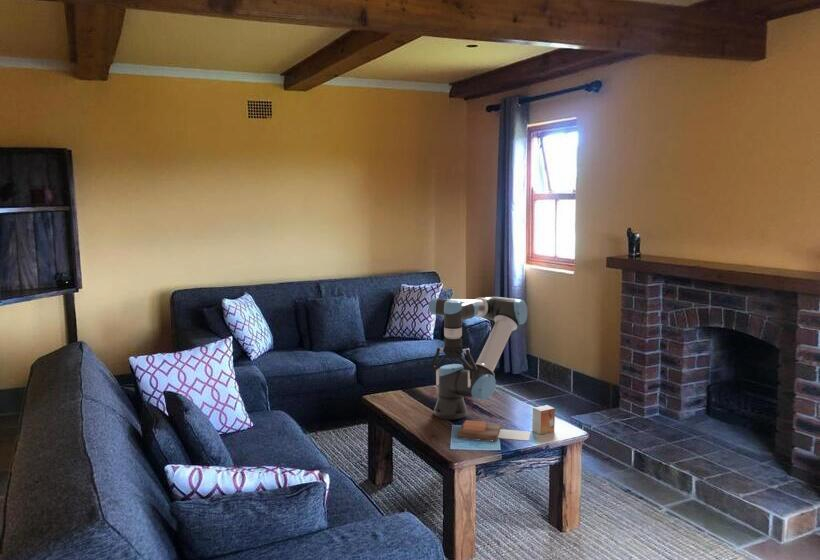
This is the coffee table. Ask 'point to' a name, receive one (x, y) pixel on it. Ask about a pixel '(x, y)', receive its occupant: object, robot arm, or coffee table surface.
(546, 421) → the small box
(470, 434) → the board
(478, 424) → the salmon flat rectangular block
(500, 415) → the coffee table surface
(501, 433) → the mat
